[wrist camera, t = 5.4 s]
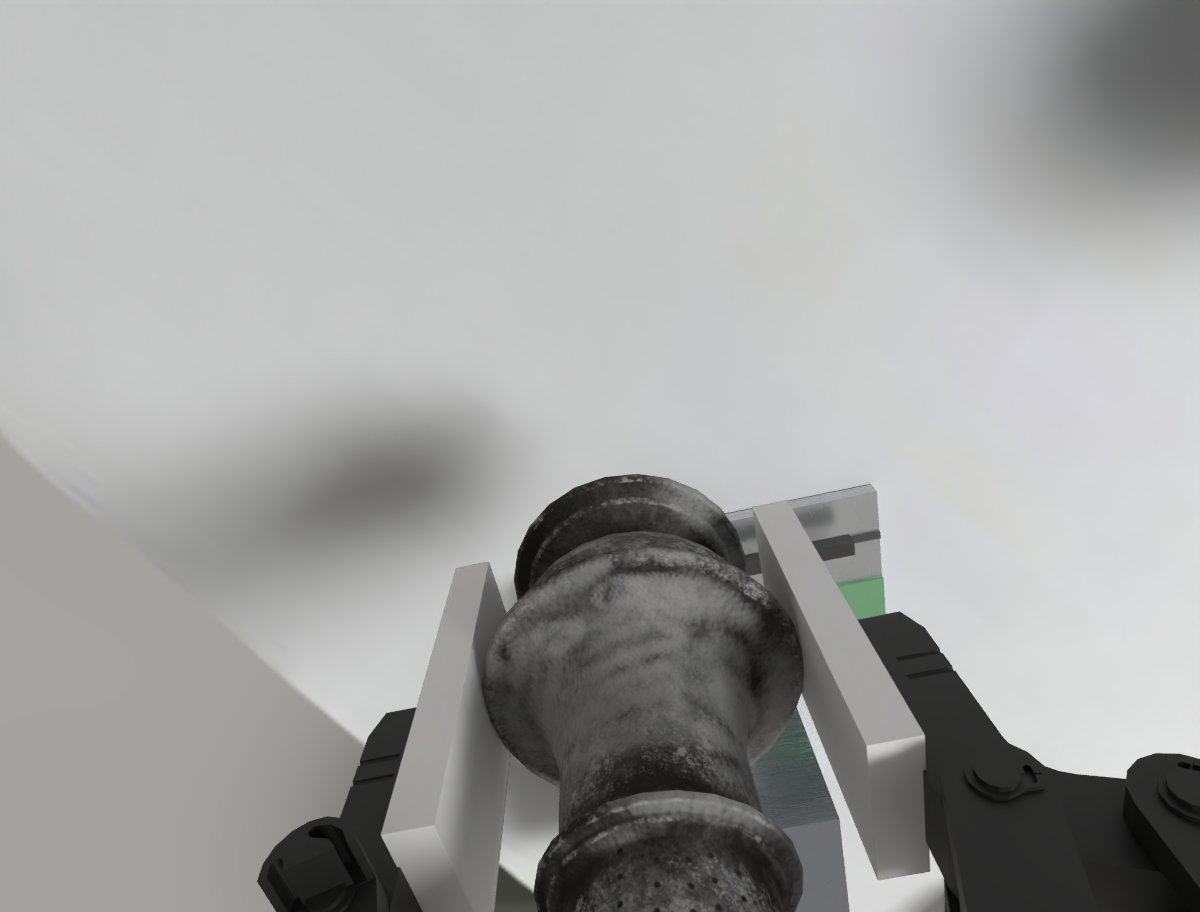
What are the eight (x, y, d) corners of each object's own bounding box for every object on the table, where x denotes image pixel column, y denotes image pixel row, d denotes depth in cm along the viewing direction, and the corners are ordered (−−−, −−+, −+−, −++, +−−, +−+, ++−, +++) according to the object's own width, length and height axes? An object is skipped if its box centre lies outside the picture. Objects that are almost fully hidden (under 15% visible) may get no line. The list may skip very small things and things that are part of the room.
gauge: (522, 555, 29) (505, 683, 22) (870, 484, 28) (963, 595, 22) (599, 802, 35) (604, 961, 29) (887, 749, 35) (964, 901, 28)
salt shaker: (641, 407, 14) (848, 1249, 3) (809, 580, 16) (1290, 1483, 5) (447, 575, 16) (161, 1535, 5) (621, 716, 18) (695, 1636, 7)
